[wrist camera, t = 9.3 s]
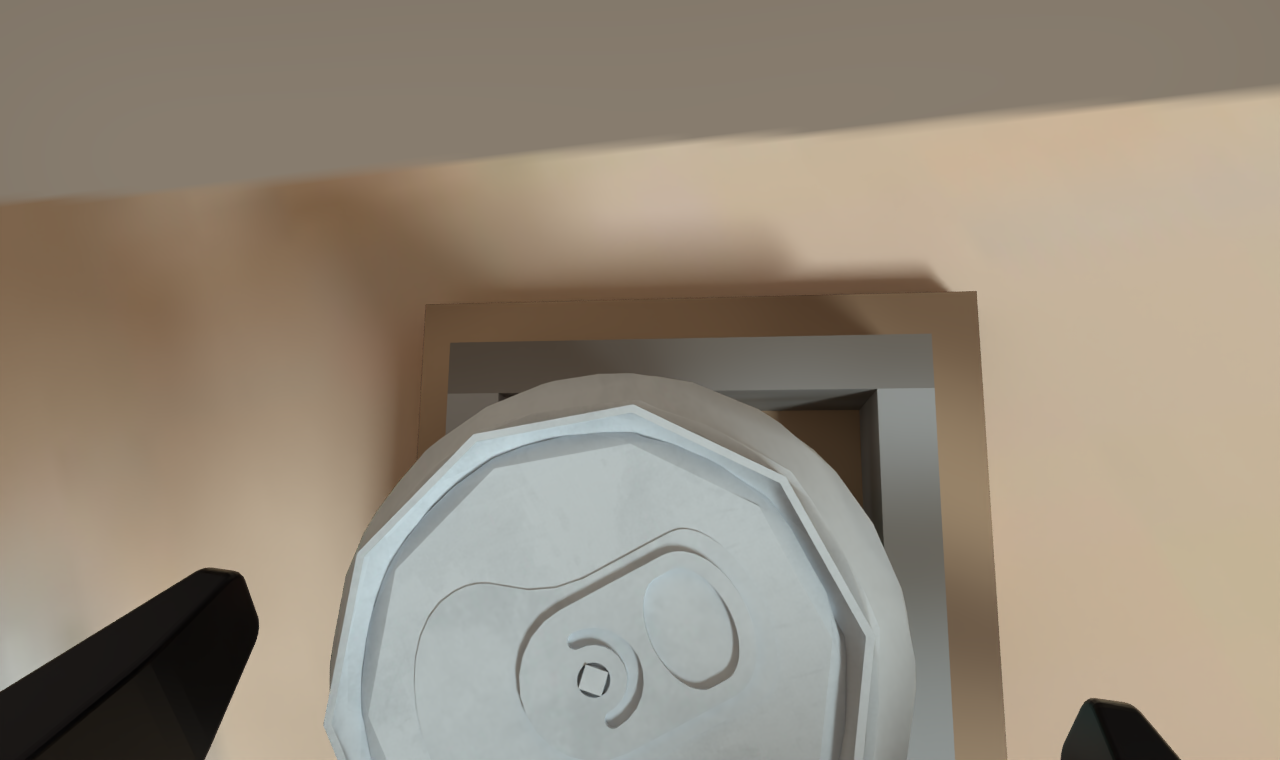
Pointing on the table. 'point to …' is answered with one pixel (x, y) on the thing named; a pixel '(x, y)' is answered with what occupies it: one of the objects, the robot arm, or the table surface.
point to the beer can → (621, 592)
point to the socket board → (802, 437)
